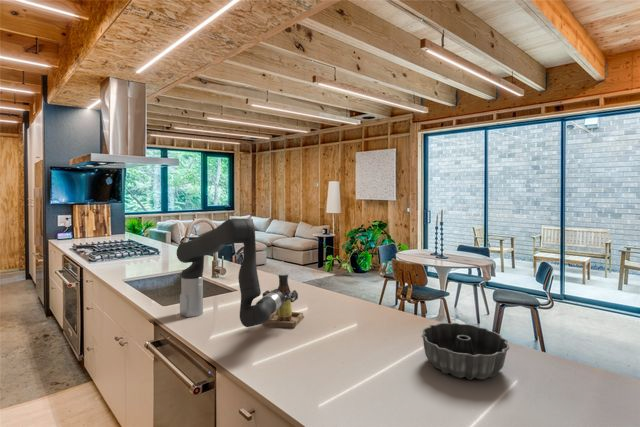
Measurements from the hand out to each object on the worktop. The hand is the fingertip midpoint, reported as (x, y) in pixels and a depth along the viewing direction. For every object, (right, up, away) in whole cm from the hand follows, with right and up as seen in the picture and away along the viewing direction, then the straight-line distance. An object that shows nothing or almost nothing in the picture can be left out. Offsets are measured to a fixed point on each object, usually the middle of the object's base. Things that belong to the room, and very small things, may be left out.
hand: (285, 291), depth 163 cm
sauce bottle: (-1, -12, -1) cm, 12 cm away
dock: (-1, -13, -1) cm, 13 cm away
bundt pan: (+62, -16, -42) cm, 76 cm away
